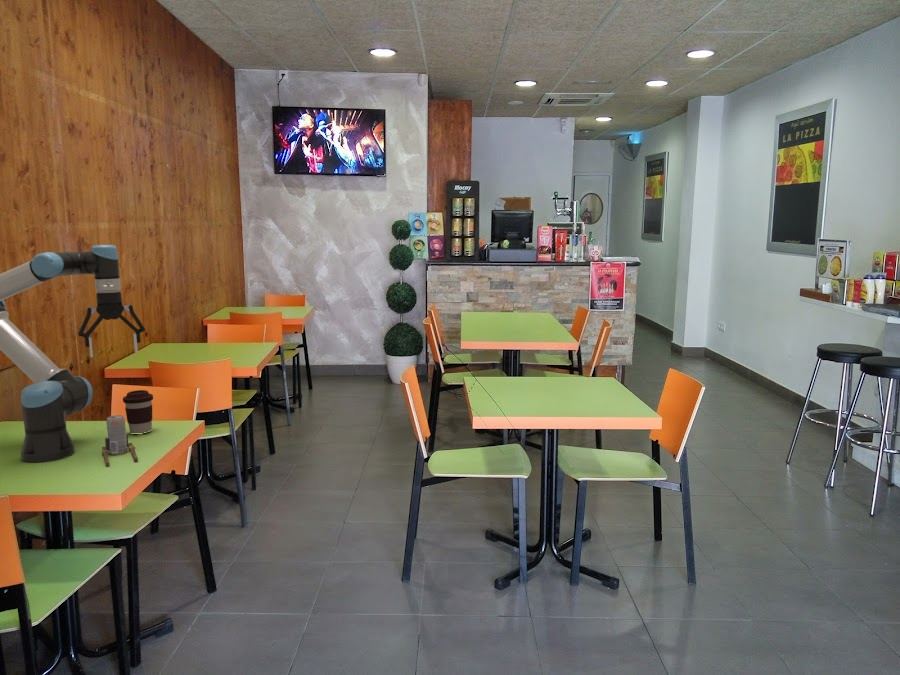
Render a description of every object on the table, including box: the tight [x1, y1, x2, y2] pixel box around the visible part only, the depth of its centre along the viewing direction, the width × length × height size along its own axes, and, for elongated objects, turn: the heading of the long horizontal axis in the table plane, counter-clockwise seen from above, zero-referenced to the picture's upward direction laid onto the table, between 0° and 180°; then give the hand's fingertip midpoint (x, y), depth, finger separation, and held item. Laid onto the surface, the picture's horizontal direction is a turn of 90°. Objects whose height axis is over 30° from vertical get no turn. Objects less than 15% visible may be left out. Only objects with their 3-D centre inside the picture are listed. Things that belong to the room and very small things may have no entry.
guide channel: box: [101, 442, 139, 468], centre depth 224 cm, size 10×20×1 cm, turn 29°
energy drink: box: [106, 414, 129, 456], centre depth 227 cm, size 5×5×12 cm
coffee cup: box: [122, 389, 154, 433], centre depth 251 cm, size 10×10×15 cm
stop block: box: [104, 434, 129, 451], centre depth 233 cm, size 7×2×4 cm, turn 119°
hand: (114, 354), depth 235 cm, fingers open, 13 cm apart
